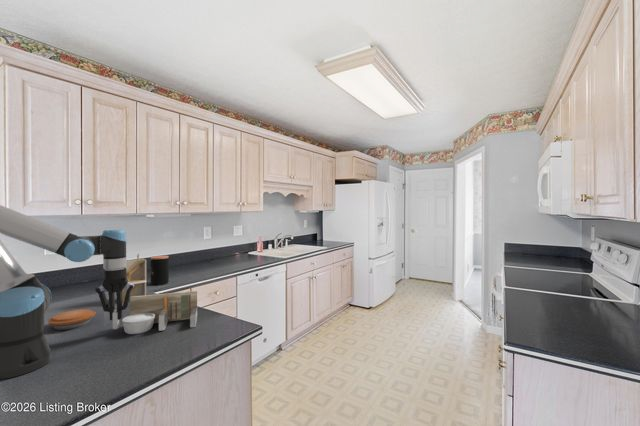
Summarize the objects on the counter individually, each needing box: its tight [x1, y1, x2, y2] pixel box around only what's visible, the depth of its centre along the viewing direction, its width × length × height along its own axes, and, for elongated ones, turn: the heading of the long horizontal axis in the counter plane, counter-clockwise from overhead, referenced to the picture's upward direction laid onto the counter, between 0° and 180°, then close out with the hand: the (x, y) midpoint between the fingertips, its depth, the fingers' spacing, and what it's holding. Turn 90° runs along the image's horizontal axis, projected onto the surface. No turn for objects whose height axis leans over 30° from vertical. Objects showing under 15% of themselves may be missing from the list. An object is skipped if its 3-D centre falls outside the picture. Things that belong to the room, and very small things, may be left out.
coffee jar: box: [149, 255, 170, 286], centre depth 195 cm, size 11×11×18 cm
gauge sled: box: [158, 296, 169, 332], centre depth 122 cm, size 10×2×11 cm, turn 20°
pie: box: [47, 308, 96, 331], centre depth 124 cm, size 16×16×5 cm
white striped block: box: [189, 307, 198, 328], centre depth 125 cm, size 10×2×5 cm, turn 20°
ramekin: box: [121, 313, 155, 335], centre depth 119 cm, size 11×11×5 cm
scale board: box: [129, 290, 198, 324], centre depth 127 cm, size 1×26×12 cm, turn 110°
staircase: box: [122, 253, 148, 303], centre depth 159 cm, size 8×12×26 cm
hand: (116, 327), depth 116 cm, fingers closed
